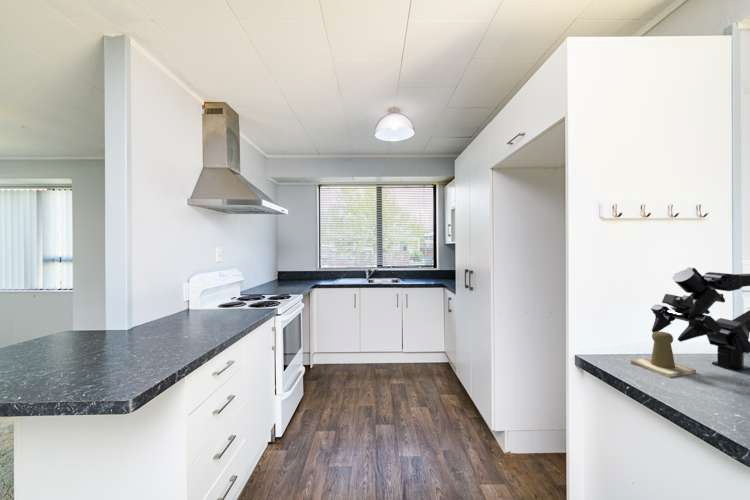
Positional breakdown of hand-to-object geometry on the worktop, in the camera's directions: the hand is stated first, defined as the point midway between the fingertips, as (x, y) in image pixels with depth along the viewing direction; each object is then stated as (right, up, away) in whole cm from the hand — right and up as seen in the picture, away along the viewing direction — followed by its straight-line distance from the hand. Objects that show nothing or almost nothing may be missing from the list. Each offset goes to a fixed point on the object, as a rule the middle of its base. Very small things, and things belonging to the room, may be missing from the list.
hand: (665, 336), depth 102 cm
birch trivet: (-1, -11, 0) cm, 11 cm away
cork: (-1, -10, 0) cm, 10 cm away
